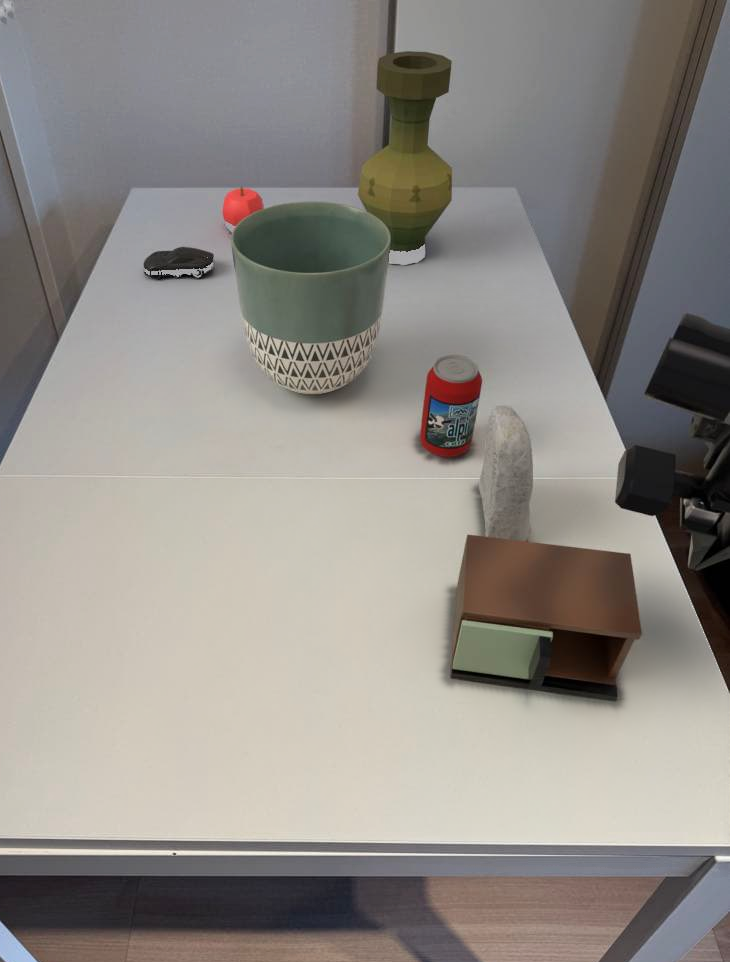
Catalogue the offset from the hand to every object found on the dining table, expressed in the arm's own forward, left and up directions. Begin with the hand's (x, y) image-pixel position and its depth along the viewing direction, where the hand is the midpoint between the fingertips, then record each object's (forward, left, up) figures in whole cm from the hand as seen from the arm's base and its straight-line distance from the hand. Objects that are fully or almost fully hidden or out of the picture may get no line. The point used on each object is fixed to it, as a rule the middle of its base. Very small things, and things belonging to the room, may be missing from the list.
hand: (692, 565), depth 70 cm
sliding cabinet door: (+13, +12, -11) cm, 21 cm away
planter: (+51, -27, -12) cm, 60 cm away
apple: (+83, -65, -12) cm, 106 cm away
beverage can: (+29, -21, -12) cm, 39 cm away
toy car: (+86, -47, -12) cm, 98 cm away
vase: (+54, -69, -12) cm, 88 cm away
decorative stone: (+19, -11, -12) cm, 26 cm away
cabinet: (+11, +5, -12) cm, 17 cm away
